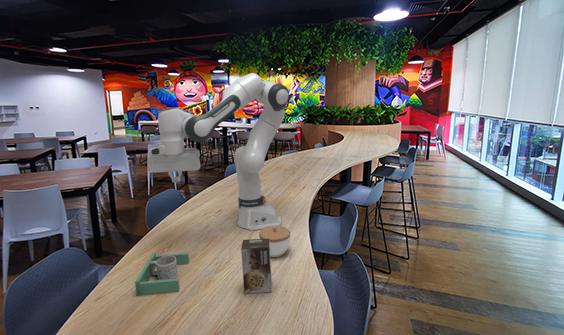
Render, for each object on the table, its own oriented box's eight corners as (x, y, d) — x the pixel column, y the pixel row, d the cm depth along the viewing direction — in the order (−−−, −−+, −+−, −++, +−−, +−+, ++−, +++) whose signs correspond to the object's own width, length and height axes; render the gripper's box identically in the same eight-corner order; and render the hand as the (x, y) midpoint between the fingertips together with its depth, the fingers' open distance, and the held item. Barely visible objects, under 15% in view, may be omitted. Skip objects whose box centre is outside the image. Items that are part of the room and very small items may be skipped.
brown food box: (271, 281, 101) (270, 237, 98) (271, 292, 95) (270, 247, 91) (245, 282, 101) (242, 238, 97) (243, 294, 95) (240, 248, 91)
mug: (181, 272, 107) (179, 256, 106) (171, 283, 101) (169, 266, 100) (157, 270, 109) (155, 253, 108) (145, 280, 103) (143, 263, 102)
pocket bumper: (189, 262, 114) (187, 250, 113) (178, 291, 97) (177, 277, 95) (154, 264, 113) (152, 253, 112) (136, 295, 95) (134, 281, 94)
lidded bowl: (263, 263, 112) (262, 236, 110) (257, 248, 124) (255, 223, 122) (294, 257, 116) (294, 231, 113) (285, 243, 128) (284, 219, 125)
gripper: (200, 146, 122) (203, 178, 125) (149, 148, 120) (153, 181, 123) (198, 148, 116) (201, 182, 119) (144, 150, 114) (148, 185, 117)
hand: (176, 181), depth 121 cm, fingers closed
